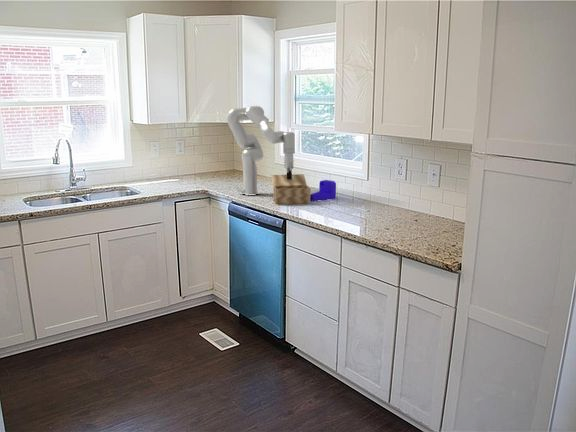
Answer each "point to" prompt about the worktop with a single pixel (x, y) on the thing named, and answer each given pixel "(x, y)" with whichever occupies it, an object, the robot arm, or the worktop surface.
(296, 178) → the lid flap
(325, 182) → the bracket
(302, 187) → the open wooden box
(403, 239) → the worktop surface
